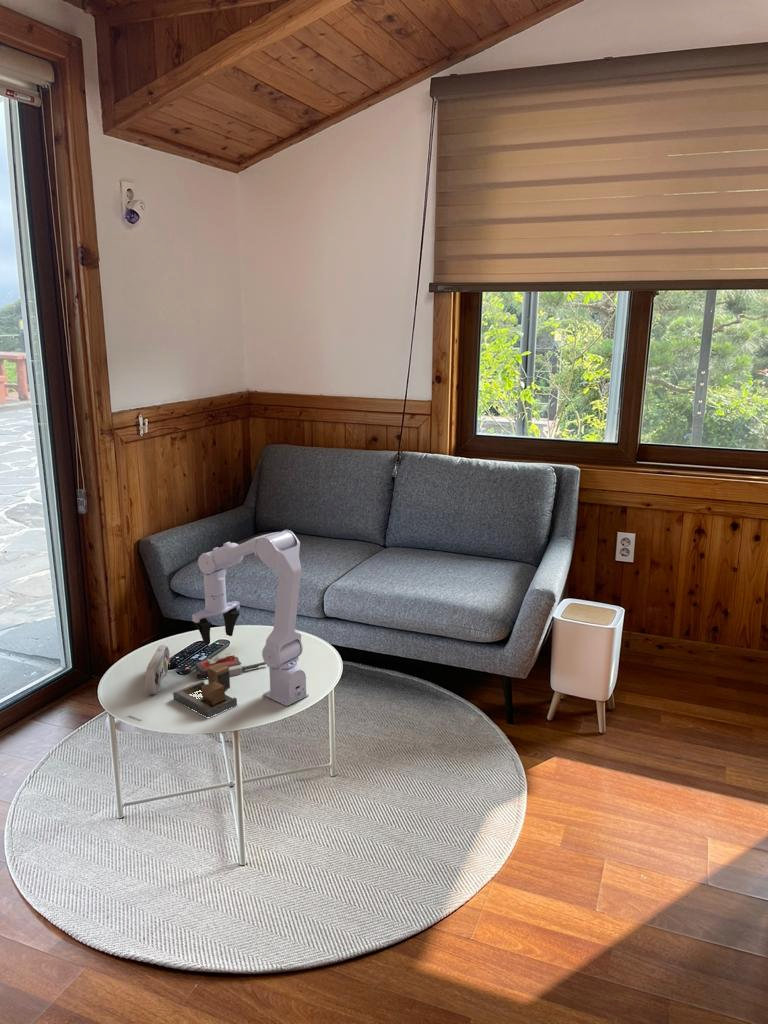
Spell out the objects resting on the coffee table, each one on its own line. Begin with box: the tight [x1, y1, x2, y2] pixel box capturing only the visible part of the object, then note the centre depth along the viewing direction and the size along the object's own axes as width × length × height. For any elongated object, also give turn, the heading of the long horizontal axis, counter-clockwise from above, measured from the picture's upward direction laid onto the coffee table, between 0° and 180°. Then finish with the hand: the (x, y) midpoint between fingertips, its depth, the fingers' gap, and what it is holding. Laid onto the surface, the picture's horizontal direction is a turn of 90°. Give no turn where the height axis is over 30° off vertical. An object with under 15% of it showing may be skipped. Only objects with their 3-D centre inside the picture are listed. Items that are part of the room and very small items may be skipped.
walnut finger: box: [207, 663, 231, 690], centre depth 207 cm, size 5×4×6 cm
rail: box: [172, 680, 238, 718], centre depth 199 cm, size 15×9×6 cm, turn 48°
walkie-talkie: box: [194, 653, 267, 679], centre depth 218 cm, size 9×4×20 cm
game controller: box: [144, 644, 171, 695], centre depth 210 cm, size 20×2×8 cm, turn 3°
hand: (218, 639), depth 215 cm, fingers open, 7 cm apart
